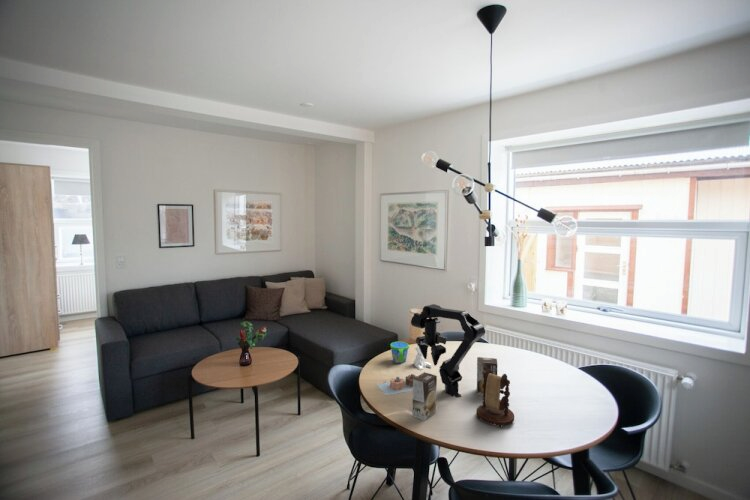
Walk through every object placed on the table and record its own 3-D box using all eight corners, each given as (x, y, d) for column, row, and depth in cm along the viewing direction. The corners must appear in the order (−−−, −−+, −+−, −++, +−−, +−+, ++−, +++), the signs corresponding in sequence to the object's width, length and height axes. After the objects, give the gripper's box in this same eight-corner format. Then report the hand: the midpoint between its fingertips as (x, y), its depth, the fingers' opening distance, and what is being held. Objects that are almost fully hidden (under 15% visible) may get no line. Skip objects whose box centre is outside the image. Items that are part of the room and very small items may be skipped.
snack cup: (409, 367, 202) (409, 349, 201) (390, 367, 203) (390, 349, 202) (408, 356, 218) (408, 340, 217) (390, 356, 218) (390, 339, 217)
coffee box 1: (425, 421, 149) (425, 383, 147) (411, 416, 153) (412, 378, 151) (436, 412, 156) (437, 375, 154) (423, 407, 160) (424, 371, 159)
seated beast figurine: (420, 372, 196) (420, 350, 195) (408, 367, 203) (409, 346, 202) (432, 367, 202) (432, 346, 201) (420, 362, 209) (421, 342, 208)
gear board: (428, 389, 177) (428, 387, 177) (386, 397, 169) (386, 395, 169) (416, 378, 188) (416, 377, 188) (376, 386, 180) (376, 384, 180)
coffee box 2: (496, 391, 174) (497, 358, 173) (497, 397, 168) (498, 363, 167) (476, 389, 177) (477, 356, 175) (476, 395, 171) (477, 361, 169)
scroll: (469, 418, 151) (470, 371, 149) (487, 405, 161) (488, 361, 159) (503, 433, 140) (505, 383, 139) (520, 418, 151) (522, 371, 149)
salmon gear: (406, 388, 175) (406, 382, 175) (393, 390, 173) (394, 384, 173) (400, 382, 181) (400, 376, 181) (388, 384, 179) (388, 379, 179)
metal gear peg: (399, 387, 177) (399, 377, 176) (396, 387, 176) (396, 378, 176) (398, 385, 178) (398, 376, 178) (395, 386, 178) (395, 377, 177)
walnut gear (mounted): (422, 383, 180) (422, 374, 180) (413, 388, 175) (413, 379, 175) (411, 379, 185) (411, 370, 184) (402, 383, 180) (402, 374, 180)
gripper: (455, 333, 173) (455, 366, 174) (434, 323, 190) (434, 353, 191) (435, 337, 168) (435, 370, 170) (415, 326, 185) (415, 356, 187)
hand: (430, 361), depth 179 cm, fingers open, 9 cm apart
